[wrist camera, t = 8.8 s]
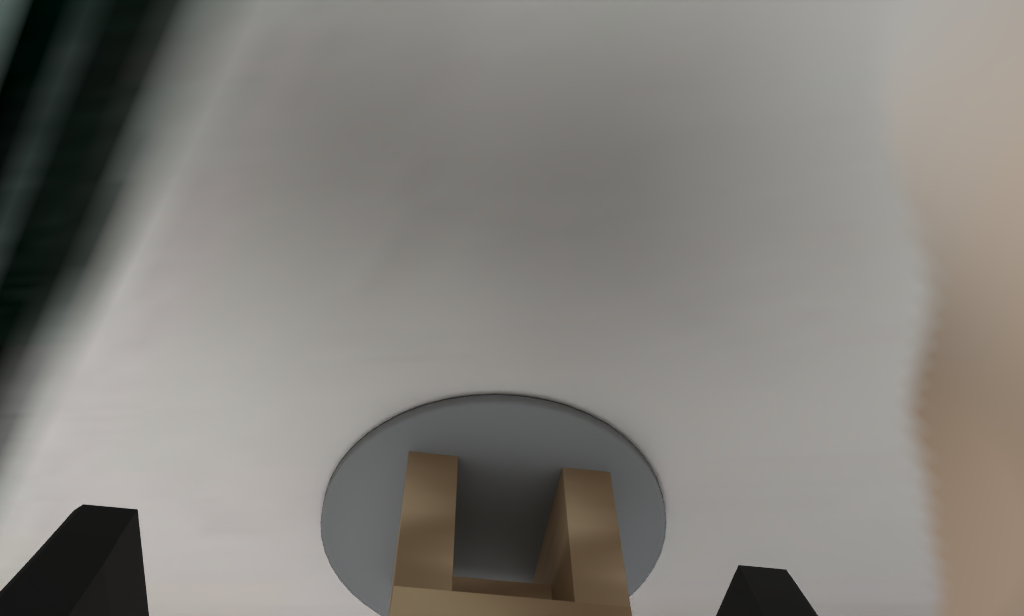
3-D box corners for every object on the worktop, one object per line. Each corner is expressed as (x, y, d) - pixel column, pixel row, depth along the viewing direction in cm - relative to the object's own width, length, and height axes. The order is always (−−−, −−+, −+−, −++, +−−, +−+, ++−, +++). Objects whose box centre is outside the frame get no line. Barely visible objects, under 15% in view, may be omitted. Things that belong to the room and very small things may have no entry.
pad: (704, 416, 22) (707, 427, 22) (621, 642, 27) (623, 654, 27) (330, 375, 21) (328, 386, 21) (316, 617, 26) (314, 629, 26)
